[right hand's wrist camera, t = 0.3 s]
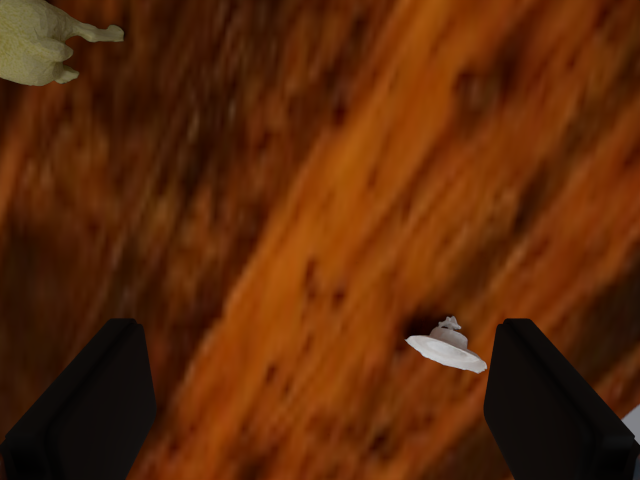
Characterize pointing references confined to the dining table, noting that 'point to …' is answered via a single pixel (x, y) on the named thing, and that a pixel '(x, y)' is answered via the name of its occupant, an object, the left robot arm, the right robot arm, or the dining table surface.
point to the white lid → (448, 347)
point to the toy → (42, 41)
